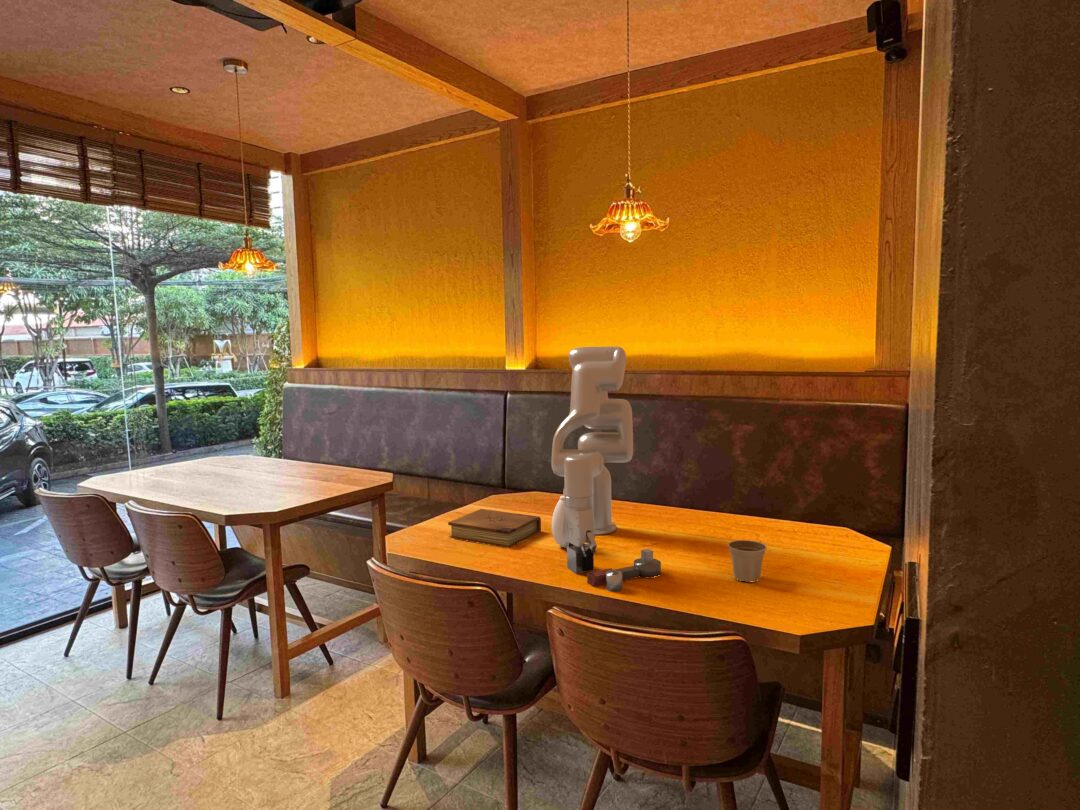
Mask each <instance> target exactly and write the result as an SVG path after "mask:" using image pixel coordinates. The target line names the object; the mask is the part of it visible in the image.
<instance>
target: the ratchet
mask: <svg viewBox="0 0 1080 810" xmlns="http://www.w3.org/2000/svg"><path fill="white" fill-rule="evenodd" d="M640 553H641V554H640V558H635V560H634V561H633V565H631V566H625V567H620V568H616V569H615V568H605V569H601V570H599V569H598V570H594V571H589V572H586V577H587V578H586V580H587V581H586V582H587V584H589V585H590V586H591V587H594V588H595V587H599V586H600V587H601V586H606V572H607V571H611V570H617V571H620V572H622V581H626V579H627V580H631V579H630V578H632V579H636V578H635V577H637V578H642V577H654V576H658V575H660V574H661V575H662V562H661V561H660V560H659V559H657V558H654V550H652V549H650V548H643V549H641V550H640ZM661 575H660V576H661ZM639 576H640V577H639ZM658 577H659V576H658Z"/></svg>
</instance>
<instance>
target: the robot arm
mask: <svg viewBox="0 0 1080 810" xmlns="http://www.w3.org/2000/svg"><path fill="white" fill-rule="evenodd" d="M568 362H569V366H570V368H571V370H572V372H571V383H570V385H571V386H570V387H571V389H570V404H569V405H570V407H569V409H570V410H569V413H568V415H567V416H566V417H565V418H564V419H563V421H561V423H560V424H559V425H558V427H557V428H556V431H555V433H554V434H553V439H552V446H551V461H550V462H551V470H552V471H553V474H554V475H556V476H557V477H563V478H564V481H563V482H564V489H565V509H564V521H563V537H564V539H565V540H566V541H567V542H566V546H572V545H575V546H576V547H581V549H582V552H583V556H582V571H584V573H586V572H585V571H589V572H591V571H590V570H593V569H594V570H595V566H594V564H595V562H594V556H595V554H596V553H595V552H596V549H597V546H598V545H597V542H596V539H595V538H596V537H595V536H596V535H607V534H612V533H614V532H616V531H617V528H618V527H617V524H616V523H614V522H612V521H613V520H612V516H613V515H612V477H611V473H610V471H609V469H608V468H607V467H606V466H605V464H606V463H617V464H618V463H622V464H623V463H628V462H630V461H631V460H632V459H633V455H634V430H633V427H634V425H633V411H632V405H631V403H630V401H628V400H627V399H624V398H609V396H608V394H609V393H608V392H609V391H610V392H611V391H612V392H613V391H618V390H620V389H621V388H622V386H623V382H624V379H625V372H626V367H627V354H626V351H625V349H624V348H623V347H620V346H583V347H582V346H581V347H576V348H573V349H571V350H570V351H569V353H568ZM582 426H584V428H587V429H591V430H592V429H593V430H616V431H617V432H603V431H602V432H599V431H598V432H597V431H595V432H586V433H583V434H582V435H581V436H580V437H579V438H578V441H577V449H564V443H565V440H566V438H567V437H568V435H570V433H572V432H573V431H575V430H577V429H579V428H581V427H582ZM585 547H589V548H588V549H587V551H586V549H585Z"/></svg>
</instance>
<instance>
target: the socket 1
mask: <svg viewBox="0 0 1080 810" xmlns="http://www.w3.org/2000/svg"><path fill="white" fill-rule="evenodd" d="M588 548H589V547H585V549H586V551H587V549H588ZM566 554H567V555H566V562H567V565H566V566H567V569H568V570H570V571H571V572H573V573H574V574H576V575H577V574H583V572H584V571H582V556H583V552H582V549H581V547H576V546H575V545H572V546H567V548H566ZM594 571H595V568H594V569H593V570H590V571H589V572H594ZM589 572H588V571H585V572H584V573H589Z"/></svg>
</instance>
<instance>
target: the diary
mask: <svg viewBox="0 0 1080 810" xmlns="http://www.w3.org/2000/svg"><path fill="white" fill-rule="evenodd" d="M447 525H448V526H450V528H451V531H450V532H451V535H449V536H448V538H449V537H452V538H457V539H456V540H458V539H462V540H461V541H464V540H468V541H467V542H470V541H473V542H472V543H476V542H479V543H478V544H482V543H485V544H484V545H488V544H490V546H494V545H496V547H500V546H502V548H506V547H509V548H508V549H510V548H513V547H514V546H516V545H518V544H520V543H522V542H524V541H526V540H527V538H528V539H529V537H530V538H531V536H532V537H533V536H535V535H537V534H539V533H541V532H542V519H541V516H539V515H538V516H537V515H529V514H523V513H517V512H516V513H515V512H509V511H507V512H506V511H500V510H494V509H493V510H492V509H486V508H480V509H477V510H475V511H473V512H470V513H467V514H465V515H463V516H460V517H457V518H454V519H453V520H451V521H448V523H447ZM452 538H451V539H452ZM525 539H526V540H525ZM523 540H524V541H523ZM521 541H522V542H521ZM519 542H520V543H519ZM517 543H518V544H517ZM513 545H514V546H513Z"/></svg>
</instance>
